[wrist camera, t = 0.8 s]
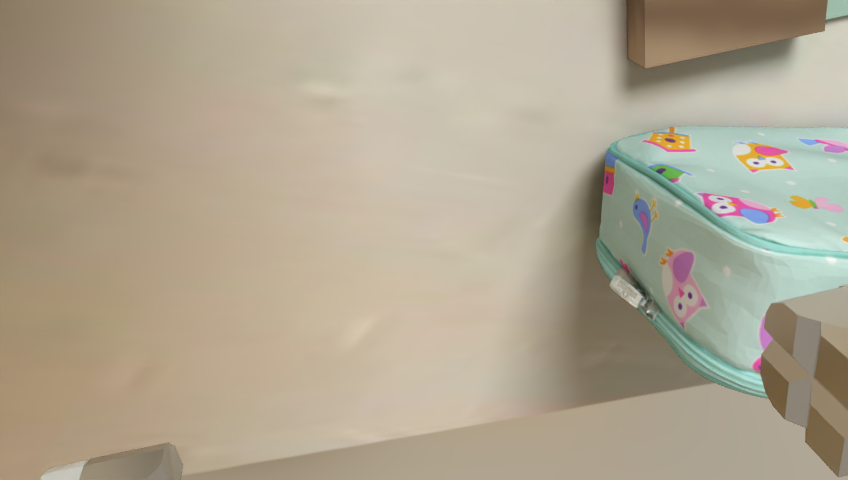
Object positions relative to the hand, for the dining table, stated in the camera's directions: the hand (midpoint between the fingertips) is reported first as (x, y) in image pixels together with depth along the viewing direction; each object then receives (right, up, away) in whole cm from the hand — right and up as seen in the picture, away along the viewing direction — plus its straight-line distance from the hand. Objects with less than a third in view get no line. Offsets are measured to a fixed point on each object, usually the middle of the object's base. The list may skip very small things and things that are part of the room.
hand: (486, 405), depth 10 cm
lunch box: (+22, +6, +45) cm, 50 cm away
